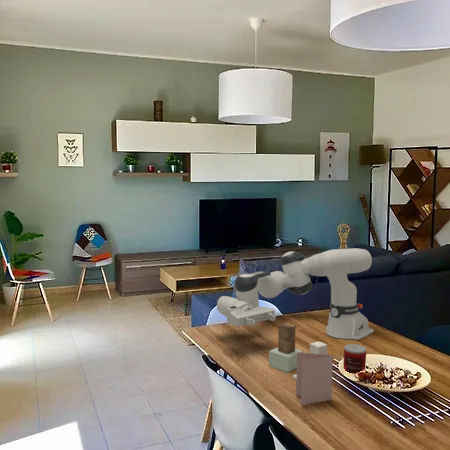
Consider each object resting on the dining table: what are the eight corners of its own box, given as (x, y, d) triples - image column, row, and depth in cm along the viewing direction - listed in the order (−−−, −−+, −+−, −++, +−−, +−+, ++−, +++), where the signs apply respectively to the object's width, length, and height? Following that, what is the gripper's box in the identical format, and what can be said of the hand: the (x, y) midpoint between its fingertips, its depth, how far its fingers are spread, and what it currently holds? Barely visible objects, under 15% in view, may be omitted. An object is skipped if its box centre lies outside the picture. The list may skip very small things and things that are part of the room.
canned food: (356, 371, 186) (358, 342, 185) (369, 380, 178) (370, 350, 177) (338, 374, 183) (339, 345, 182) (350, 383, 176) (352, 352, 175)
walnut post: (286, 348, 193) (286, 322, 192) (294, 351, 190) (295, 325, 189) (278, 350, 190) (278, 324, 189) (286, 353, 187) (287, 327, 186)
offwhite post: (317, 366, 190) (318, 341, 189) (326, 370, 187) (327, 344, 185) (309, 369, 188) (309, 343, 186) (318, 373, 184) (318, 347, 183)
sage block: (283, 359, 197) (283, 345, 197) (302, 366, 191) (302, 350, 190) (268, 366, 191) (269, 351, 190) (288, 373, 185) (288, 357, 184)
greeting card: (331, 398, 164) (332, 354, 162) (330, 409, 157) (332, 363, 155) (296, 394, 167) (297, 351, 165) (294, 405, 159) (295, 359, 158)
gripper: (262, 315, 216) (284, 323, 205) (224, 324, 205) (245, 333, 193) (262, 301, 216) (284, 308, 205) (224, 309, 204) (245, 317, 193)
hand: (265, 320), depth 199 cm, fingers open, 8 cm apart
